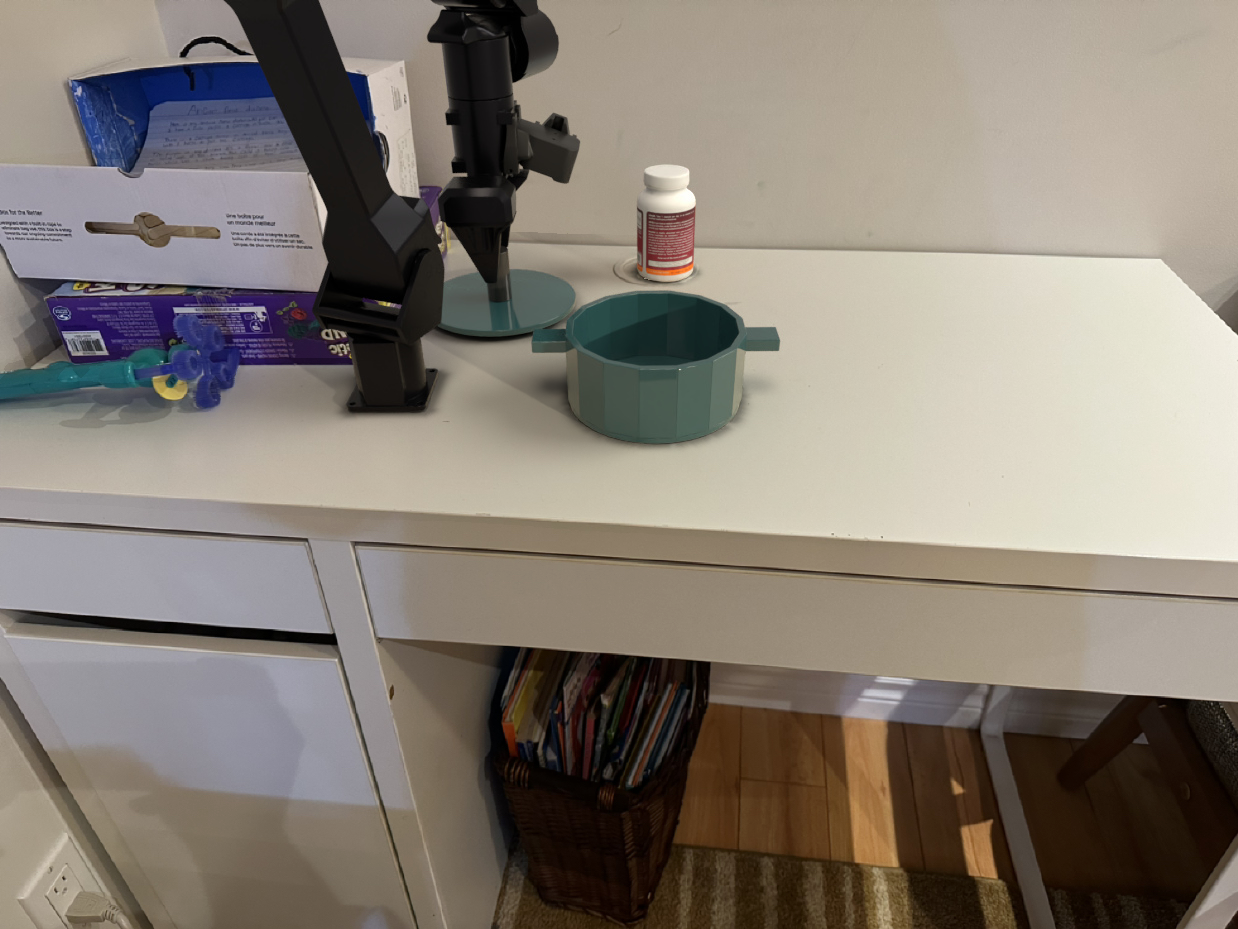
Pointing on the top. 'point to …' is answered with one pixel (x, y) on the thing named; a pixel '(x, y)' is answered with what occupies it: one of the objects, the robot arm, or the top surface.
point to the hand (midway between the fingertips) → (497, 264)
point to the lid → (505, 302)
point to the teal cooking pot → (655, 364)
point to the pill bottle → (665, 224)
